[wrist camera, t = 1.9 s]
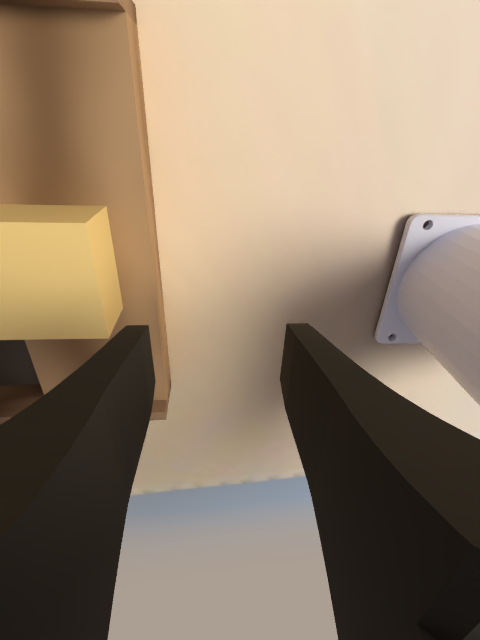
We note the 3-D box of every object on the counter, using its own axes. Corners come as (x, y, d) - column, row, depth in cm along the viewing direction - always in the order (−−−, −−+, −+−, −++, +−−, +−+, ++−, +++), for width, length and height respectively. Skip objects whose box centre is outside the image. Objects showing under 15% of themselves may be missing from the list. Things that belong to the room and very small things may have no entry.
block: (106, 205, 15) (85, 223, 12) (123, 307, 17) (108, 338, 15) (-16, 203, 14) (-63, 221, 12) (19, 308, 17) (-13, 340, 14)
